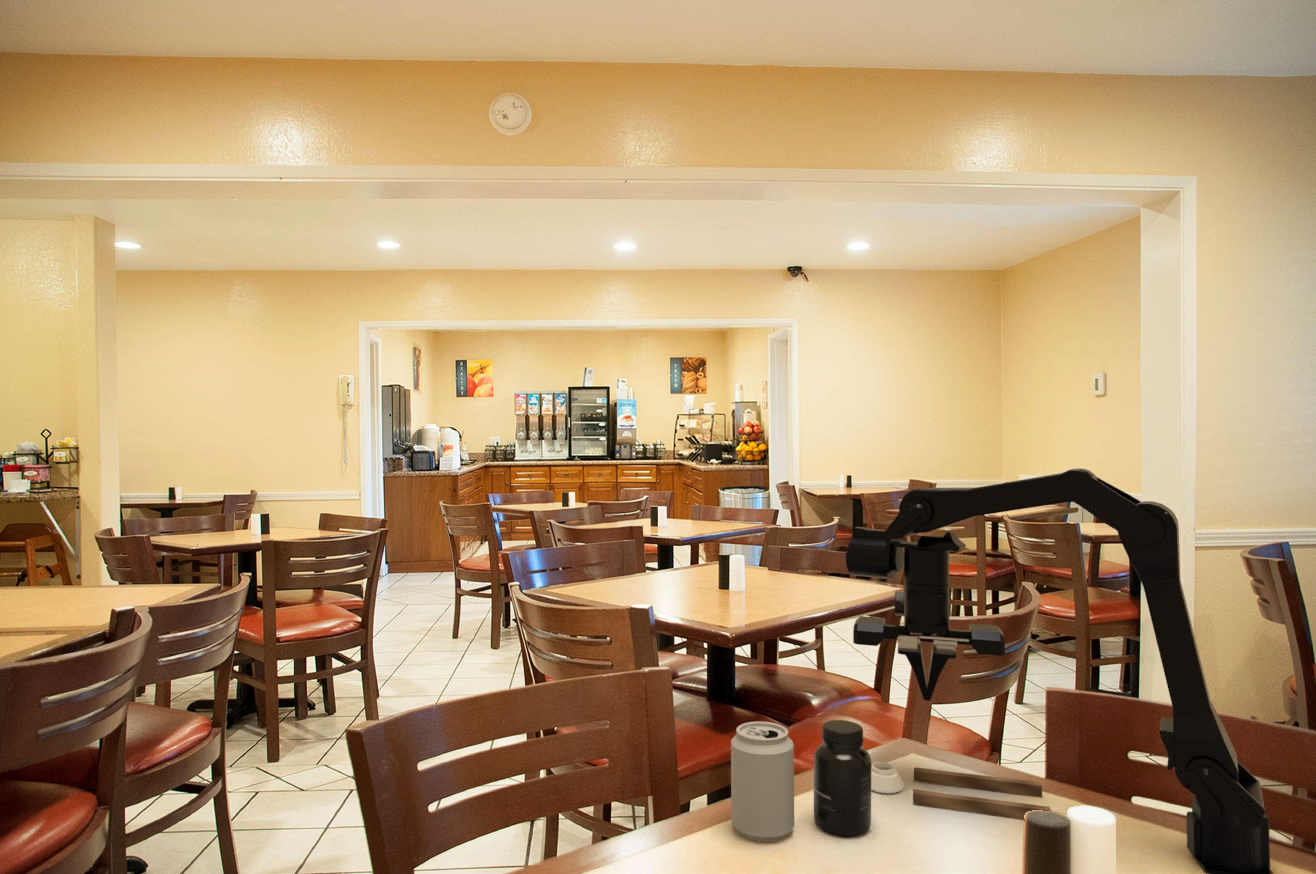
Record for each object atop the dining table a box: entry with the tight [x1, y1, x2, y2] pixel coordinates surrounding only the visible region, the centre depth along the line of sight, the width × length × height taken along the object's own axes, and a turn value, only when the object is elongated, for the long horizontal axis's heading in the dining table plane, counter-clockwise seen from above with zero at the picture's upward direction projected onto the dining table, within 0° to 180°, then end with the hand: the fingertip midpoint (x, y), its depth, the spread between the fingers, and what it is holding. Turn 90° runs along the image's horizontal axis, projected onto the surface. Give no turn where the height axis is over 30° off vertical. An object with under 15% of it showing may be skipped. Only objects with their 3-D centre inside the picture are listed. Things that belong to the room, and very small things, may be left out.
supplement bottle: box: [813, 719, 872, 839], centre depth 95 cm, size 7×7×12 cm
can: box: [730, 721, 795, 842], centre depth 94 cm, size 8×8×12 cm
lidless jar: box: [871, 761, 904, 795], centre depth 106 cm, size 5×3×5 cm
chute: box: [912, 766, 1052, 821], centre depth 102 cm, size 16×9×2 cm, turn 71°
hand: (927, 699), depth 104 cm, fingers closed
